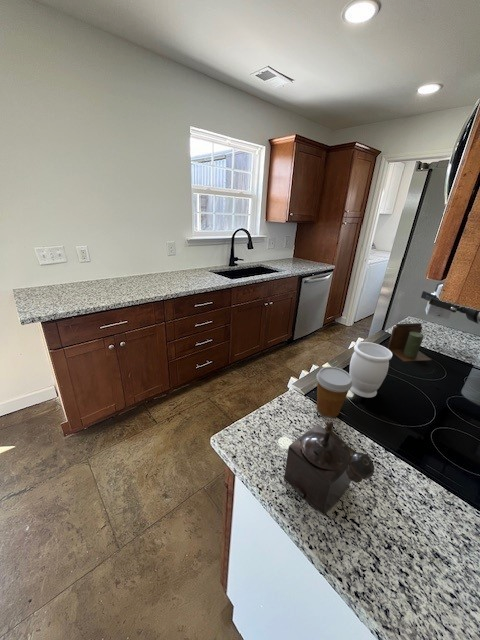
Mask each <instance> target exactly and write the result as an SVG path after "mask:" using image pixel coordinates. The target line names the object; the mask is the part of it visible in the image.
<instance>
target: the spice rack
mask: <svg viewBox="0 0 480 640" xmlns="http://www.w3.org/2000/svg"><path fill="white" fill-rule="evenodd" d="M422 330H423V326H422V323H420V322H413V323H410V322H409V323H396V324H395V326H393V327H392V331H391V334H390V338H389V341H388V344H387V347H386V348H387V349H389V350H390V351H391V352H392V354H394V355H395V356H396V357H398V358H399V359H400V360H401V361H402V362H420V361H421V362H422V361H432V358H430V357H429V356H427V355H426V354H425V353H423V352H422V351H421V350H419V352H418V354H417V357H415V358H412V357H408V356H406V355H404V354H403V351H404V348H405V345H406V342H407V339H408V336H409V333H410V332H418V333H421V334H422Z"/></svg>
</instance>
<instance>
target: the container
mask: <svg viewBox="0 0 480 640" xmlns="http://www.w3.org/2000/svg"><path fill="white" fill-rule="evenodd" d="M443 283H444V282H439V283H437V284H436V286H435V289H434V291H433V292H431V293H430V294H432V295H436V296H437V297H438V298H439V294H440V292H441V289H442V286H443ZM452 313H453V312H451V311H449V310H446V309H443V308H440V307H437V306H434V305H431V304H429V301H428V300H427V304H426V307H425V315H426V316H429V317H434V318H439V319H445V320H450V318H451V315H452Z"/></svg>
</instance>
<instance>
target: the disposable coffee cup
mask: <svg viewBox="0 0 480 640" xmlns="http://www.w3.org/2000/svg"><path fill="white" fill-rule="evenodd" d="M316 380H317V388H316V393H317V394H316V395H317V396H316V410H317V412H318V413H319V414H320V415H322V416H324V417H326V418H336V417H338V416H339V414H340V412H341V411H342V408H343V405H344V403H345V400H346V398H347V396H348V393H349V391H350V388H351V387H352V385H353V382H352V378H351V376H350V374H349V373H348V371H346V370H344V369H343V368H340V367H336V366H324V367H322V368H320V369H319V371H318V372H317V373H316Z"/></svg>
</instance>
